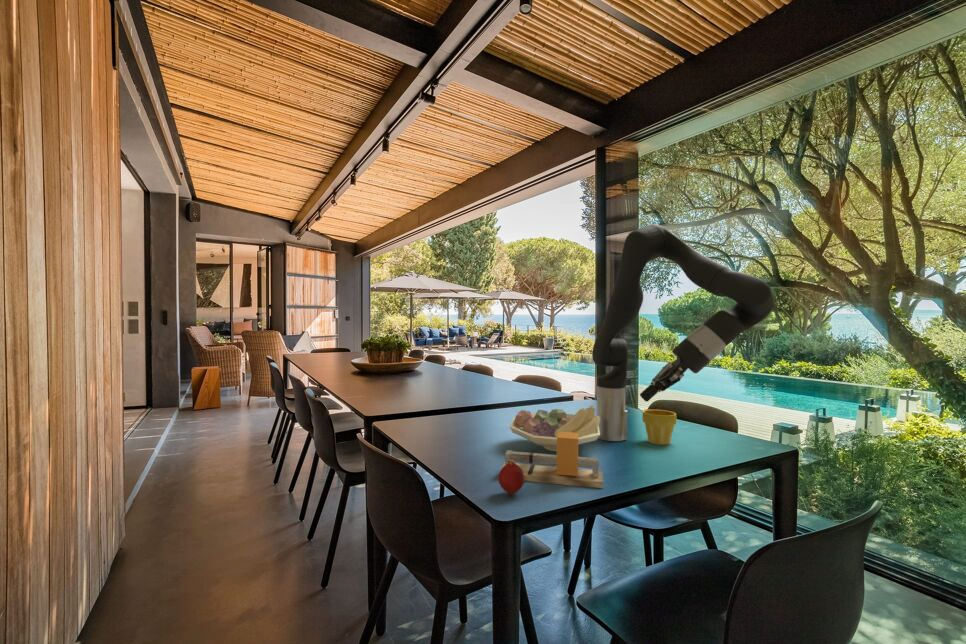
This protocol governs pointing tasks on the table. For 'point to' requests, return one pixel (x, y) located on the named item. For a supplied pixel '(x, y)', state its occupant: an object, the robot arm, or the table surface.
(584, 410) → the dish with food
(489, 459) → the table surface
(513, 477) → the onion
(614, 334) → the robot arm
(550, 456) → the pipe
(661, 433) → the plant pot
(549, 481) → the board
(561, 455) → the upright wooden block
